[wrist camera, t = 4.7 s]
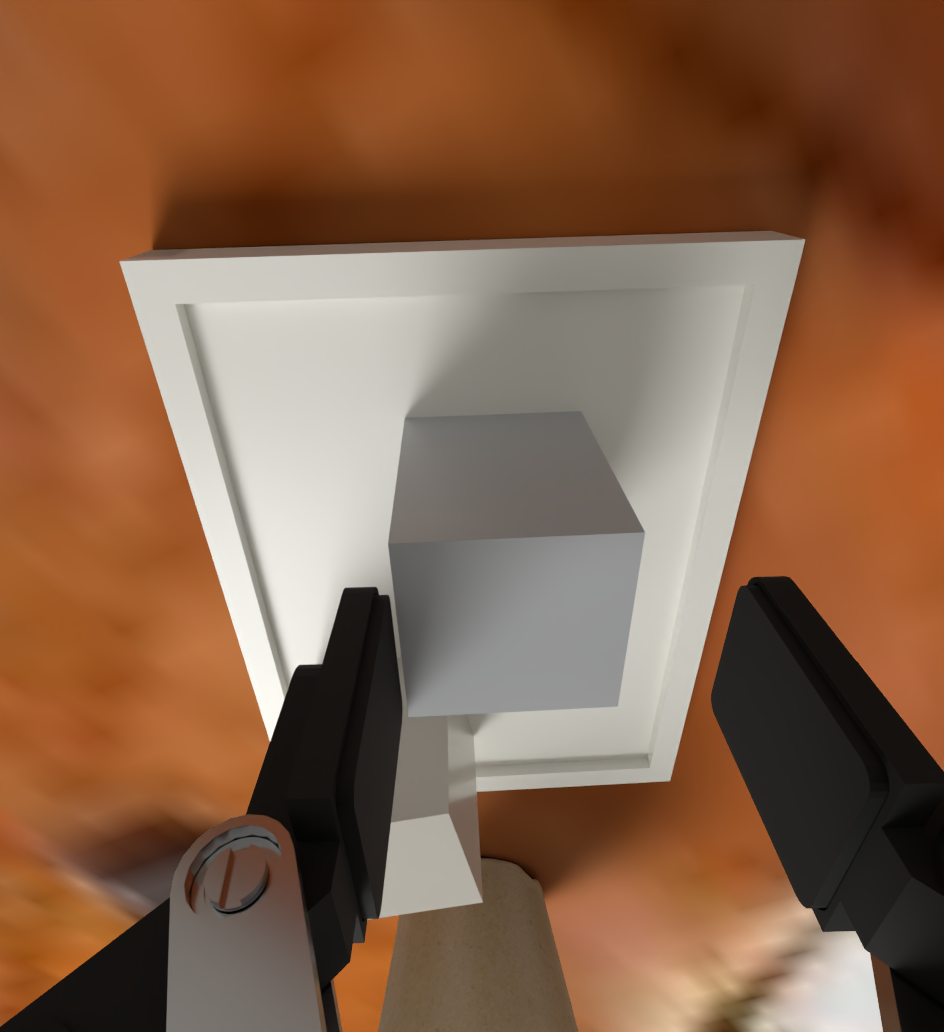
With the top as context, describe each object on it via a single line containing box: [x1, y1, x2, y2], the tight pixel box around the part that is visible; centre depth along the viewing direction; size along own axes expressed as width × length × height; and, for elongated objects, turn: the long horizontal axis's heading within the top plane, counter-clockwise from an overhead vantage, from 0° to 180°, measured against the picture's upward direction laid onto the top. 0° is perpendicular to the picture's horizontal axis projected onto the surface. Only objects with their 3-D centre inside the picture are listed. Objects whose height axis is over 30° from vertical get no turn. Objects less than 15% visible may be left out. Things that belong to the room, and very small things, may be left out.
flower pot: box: [378, 858, 578, 1032], centre depth 23 cm, size 9×9×9 cm
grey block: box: [388, 411, 645, 717], centre depth 12 cm, size 4×4×5 cm
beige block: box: [367, 657, 483, 920], centre depth 16 cm, size 4×4×5 cm
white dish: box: [120, 231, 806, 792], centre depth 16 cm, size 13×17×1 cm
